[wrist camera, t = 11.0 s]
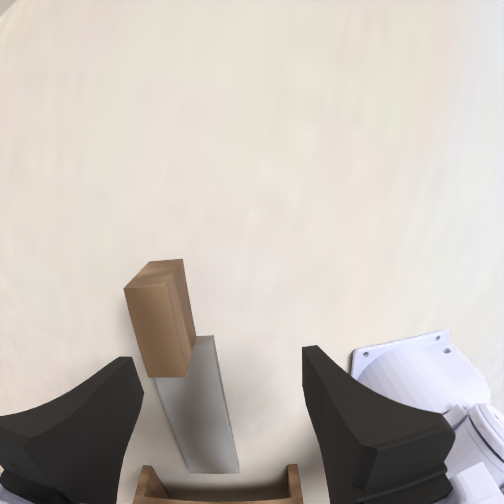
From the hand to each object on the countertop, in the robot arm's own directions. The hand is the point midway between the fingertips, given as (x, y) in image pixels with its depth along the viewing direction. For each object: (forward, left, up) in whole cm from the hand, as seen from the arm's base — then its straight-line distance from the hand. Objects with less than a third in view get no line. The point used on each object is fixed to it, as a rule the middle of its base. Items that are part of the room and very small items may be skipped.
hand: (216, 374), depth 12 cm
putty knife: (+4, +9, -9) cm, 13 cm away
